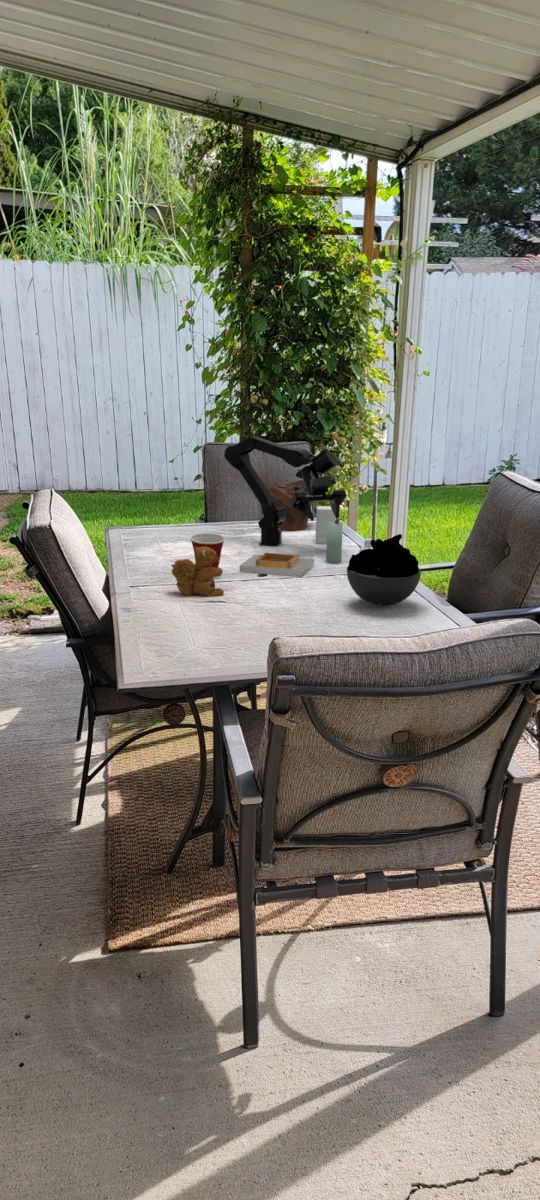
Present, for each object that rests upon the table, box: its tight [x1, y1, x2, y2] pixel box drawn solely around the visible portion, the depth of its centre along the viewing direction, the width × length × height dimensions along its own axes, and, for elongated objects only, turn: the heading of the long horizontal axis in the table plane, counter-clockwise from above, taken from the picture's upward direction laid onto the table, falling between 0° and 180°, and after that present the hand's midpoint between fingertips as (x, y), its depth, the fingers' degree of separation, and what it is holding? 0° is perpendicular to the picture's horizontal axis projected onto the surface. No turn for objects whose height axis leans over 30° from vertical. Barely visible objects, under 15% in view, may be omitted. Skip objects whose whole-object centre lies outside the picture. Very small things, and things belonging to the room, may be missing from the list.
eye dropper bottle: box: [358, 534, 373, 553], centre depth 270 cm, size 4×6×12 cm
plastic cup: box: [189, 532, 226, 568], centre depth 264 cm, size 11×11×12 cm
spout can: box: [325, 517, 344, 564], centre depth 283 cm, size 5×5×15 cm
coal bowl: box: [346, 533, 422, 607], centre depth 235 cm, size 20×20×19 cm
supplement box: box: [315, 505, 336, 545], centre depth 313 cm, size 7×7×13 cm
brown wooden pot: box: [267, 479, 313, 531], centre depth 336 cm, size 18×20×18 cm
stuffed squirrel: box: [170, 547, 225, 597], centre depth 245 cm, size 10×14×13 cm
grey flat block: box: [239, 552, 315, 578], centre depth 275 cm, size 20×16×4 cm
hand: (325, 519), depth 288 cm, fingers open, 9 cm apart
